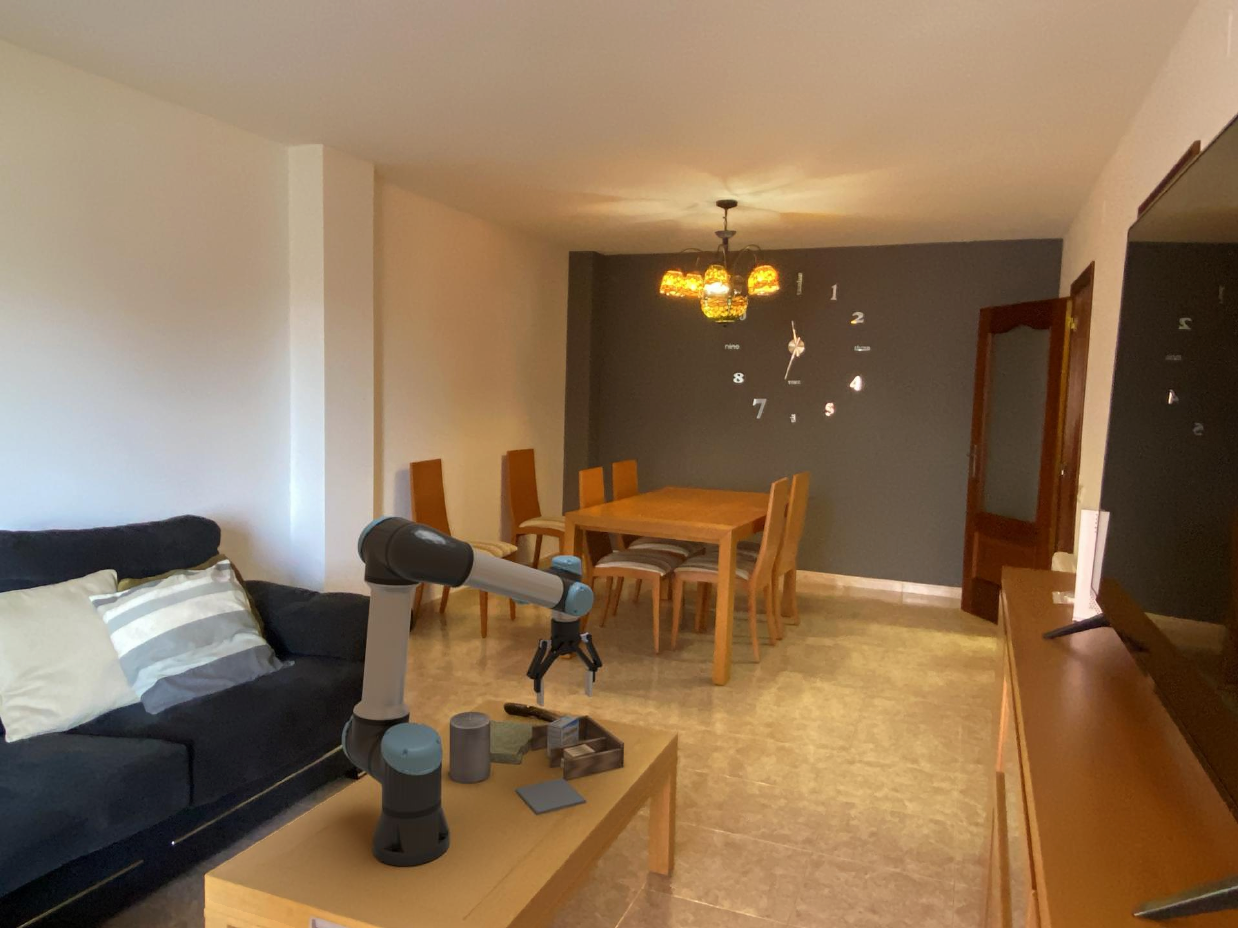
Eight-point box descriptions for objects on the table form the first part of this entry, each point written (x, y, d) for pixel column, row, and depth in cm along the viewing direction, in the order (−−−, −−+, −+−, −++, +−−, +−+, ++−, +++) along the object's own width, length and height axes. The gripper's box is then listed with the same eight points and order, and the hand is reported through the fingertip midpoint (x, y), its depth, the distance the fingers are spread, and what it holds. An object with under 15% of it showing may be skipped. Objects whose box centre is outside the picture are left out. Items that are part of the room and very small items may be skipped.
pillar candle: (460, 762, 206) (460, 703, 204) (497, 768, 203) (497, 708, 202) (441, 780, 196) (441, 719, 195) (480, 786, 194) (480, 724, 192)
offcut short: (573, 766, 201) (573, 756, 201) (563, 758, 205) (563, 748, 204) (594, 761, 204) (594, 751, 204) (584, 753, 208) (584, 743, 208)
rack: (565, 780, 198) (565, 755, 197) (531, 748, 215) (531, 725, 214) (623, 766, 206) (624, 743, 205) (586, 736, 223) (587, 715, 222)
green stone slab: (450, 761, 207) (451, 748, 207) (473, 729, 227) (473, 716, 227) (524, 767, 205) (525, 753, 205) (541, 734, 225) (541, 721, 225)
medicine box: (561, 761, 208) (561, 727, 207) (546, 756, 210) (547, 723, 210) (578, 749, 215) (579, 717, 214) (564, 745, 217) (565, 713, 216)
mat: (537, 814, 182) (537, 812, 182) (515, 790, 192) (515, 788, 192) (585, 802, 188) (586, 799, 188) (562, 779, 198) (562, 777, 198)
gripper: (526, 628, 200) (525, 713, 202) (616, 615, 212) (614, 695, 214) (513, 620, 206) (513, 703, 208) (602, 608, 219) (600, 686, 221)
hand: (564, 699), depth 211 cm, fingers open, 13 cm apart
